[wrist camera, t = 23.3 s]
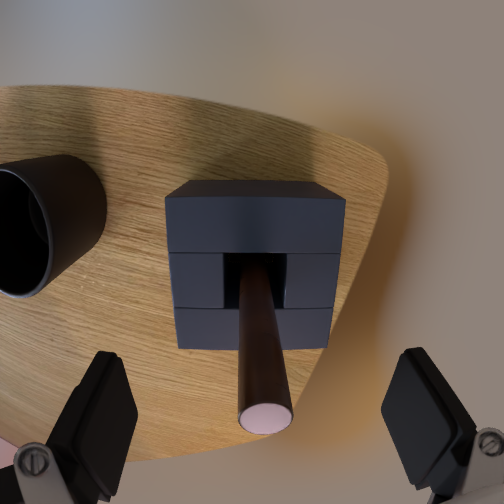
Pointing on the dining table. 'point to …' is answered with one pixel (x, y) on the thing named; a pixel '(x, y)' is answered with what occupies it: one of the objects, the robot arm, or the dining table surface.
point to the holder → (253, 241)
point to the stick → (260, 354)
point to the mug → (46, 220)
